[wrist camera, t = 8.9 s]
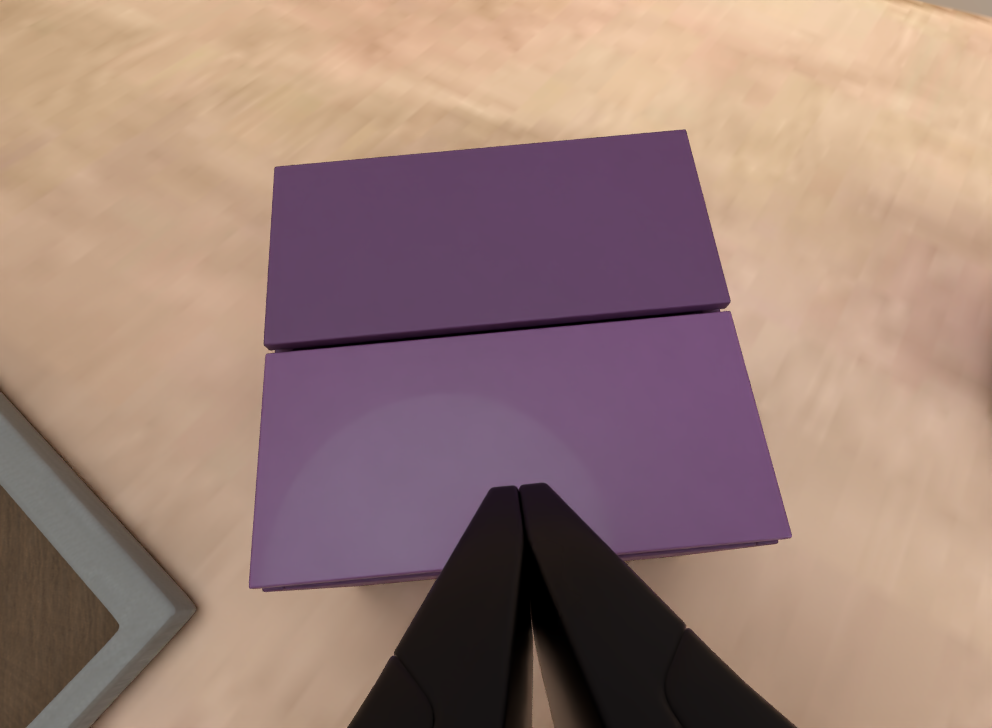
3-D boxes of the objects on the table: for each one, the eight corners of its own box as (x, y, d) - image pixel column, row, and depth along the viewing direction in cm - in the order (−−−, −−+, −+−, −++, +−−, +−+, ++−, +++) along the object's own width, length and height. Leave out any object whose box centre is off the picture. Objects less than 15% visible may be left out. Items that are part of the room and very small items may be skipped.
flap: (785, 539, 12) (793, 537, 12) (255, 588, 12) (247, 589, 12) (725, 317, 14) (730, 309, 14) (271, 359, 14) (264, 352, 14)
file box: (680, 555, 20) (797, 541, 12) (355, 586, 20) (244, 593, 12) (627, 281, 24) (687, 126, 16) (355, 306, 24) (272, 163, 16)
